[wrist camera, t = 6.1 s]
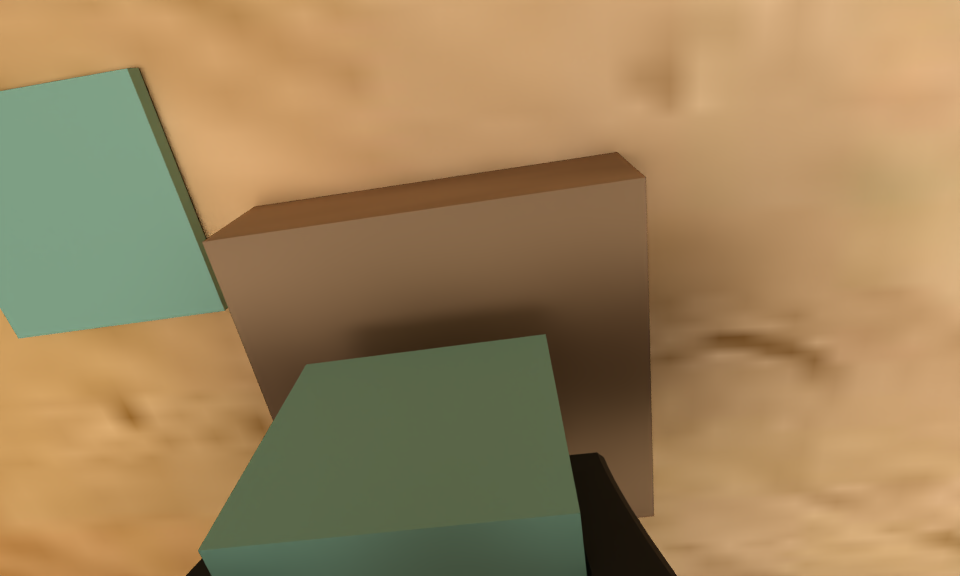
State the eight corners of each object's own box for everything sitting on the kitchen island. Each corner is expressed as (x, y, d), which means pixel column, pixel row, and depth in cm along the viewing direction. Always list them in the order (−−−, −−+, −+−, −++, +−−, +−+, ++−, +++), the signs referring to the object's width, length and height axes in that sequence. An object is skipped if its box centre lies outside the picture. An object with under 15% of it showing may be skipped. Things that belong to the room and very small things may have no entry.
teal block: (567, 514, 11) (603, 734, 8) (365, 533, 12) (307, 754, 8) (545, 334, 9) (579, 513, 6) (306, 364, 10) (198, 551, 6)
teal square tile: (231, 304, 14) (224, 310, 14) (30, 331, 15) (18, 338, 14) (138, 67, 12) (126, 68, 11) (-100, 110, 12) (-117, 112, 12)
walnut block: (627, 438, 16) (654, 516, 14) (350, 466, 17) (323, 545, 14) (613, 149, 13) (645, 177, 10) (260, 202, 14) (201, 242, 11)
